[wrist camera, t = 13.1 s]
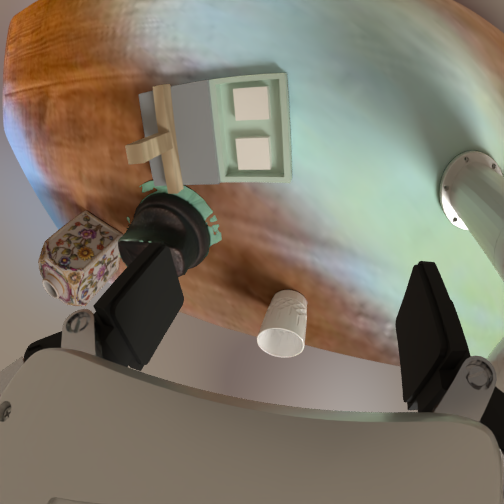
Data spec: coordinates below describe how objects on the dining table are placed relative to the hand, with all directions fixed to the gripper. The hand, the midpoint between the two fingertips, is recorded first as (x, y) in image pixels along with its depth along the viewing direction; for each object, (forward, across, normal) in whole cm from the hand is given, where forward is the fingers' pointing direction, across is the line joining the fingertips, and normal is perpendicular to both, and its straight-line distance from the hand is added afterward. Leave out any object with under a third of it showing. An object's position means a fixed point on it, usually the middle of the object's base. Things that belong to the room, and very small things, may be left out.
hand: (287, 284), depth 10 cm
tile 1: (+28, +8, -5) cm, 30 cm away
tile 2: (+28, +8, +2) cm, 30 cm away
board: (+30, +19, -2) cm, 36 cm away
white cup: (+31, +4, +30) cm, 43 cm away
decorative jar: (+31, +45, +19) cm, 58 cm away
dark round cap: (+31, +26, +16) cm, 43 cm away
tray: (+30, +8, -2) cm, 32 cm away
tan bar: (+27, +20, -1) cm, 34 cm away
